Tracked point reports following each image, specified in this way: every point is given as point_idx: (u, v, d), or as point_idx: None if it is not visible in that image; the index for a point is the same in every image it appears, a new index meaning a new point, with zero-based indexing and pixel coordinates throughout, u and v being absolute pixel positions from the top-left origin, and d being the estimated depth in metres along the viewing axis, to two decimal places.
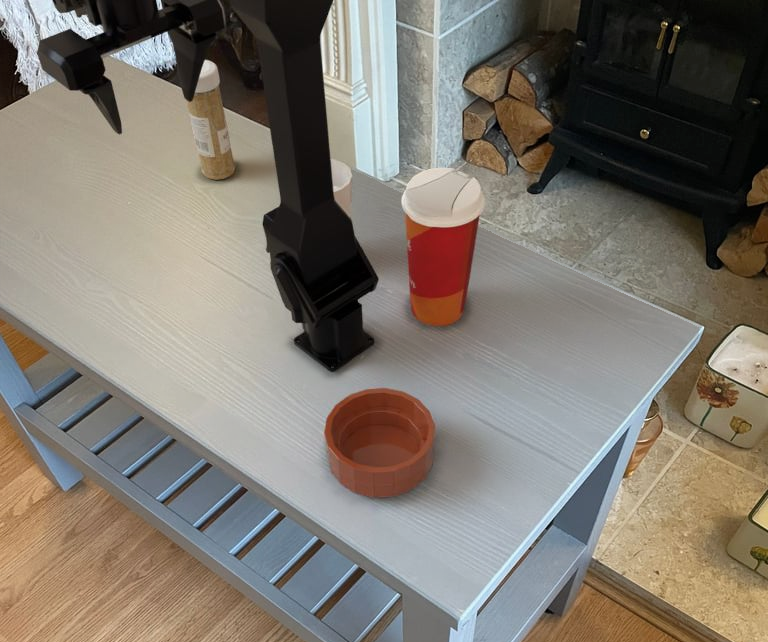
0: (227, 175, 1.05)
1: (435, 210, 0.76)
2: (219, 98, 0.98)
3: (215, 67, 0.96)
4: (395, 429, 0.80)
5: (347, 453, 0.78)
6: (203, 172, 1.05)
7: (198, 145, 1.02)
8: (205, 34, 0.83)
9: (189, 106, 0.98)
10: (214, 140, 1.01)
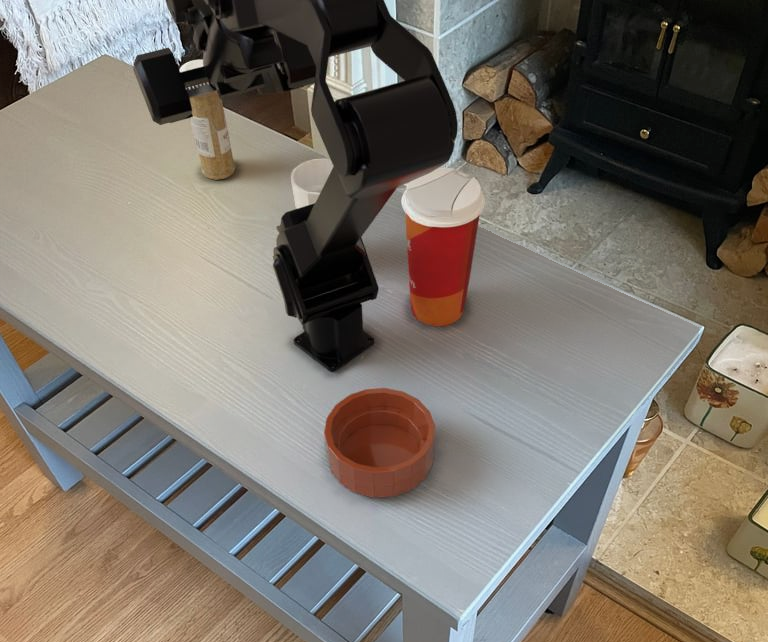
0: (227, 175, 1.05)
1: (435, 210, 0.76)
2: (219, 98, 0.98)
3: None
4: (395, 429, 0.80)
5: (347, 453, 0.78)
6: (203, 172, 1.05)
7: (198, 145, 1.02)
8: (295, 87, 0.86)
9: None
10: (214, 140, 1.01)
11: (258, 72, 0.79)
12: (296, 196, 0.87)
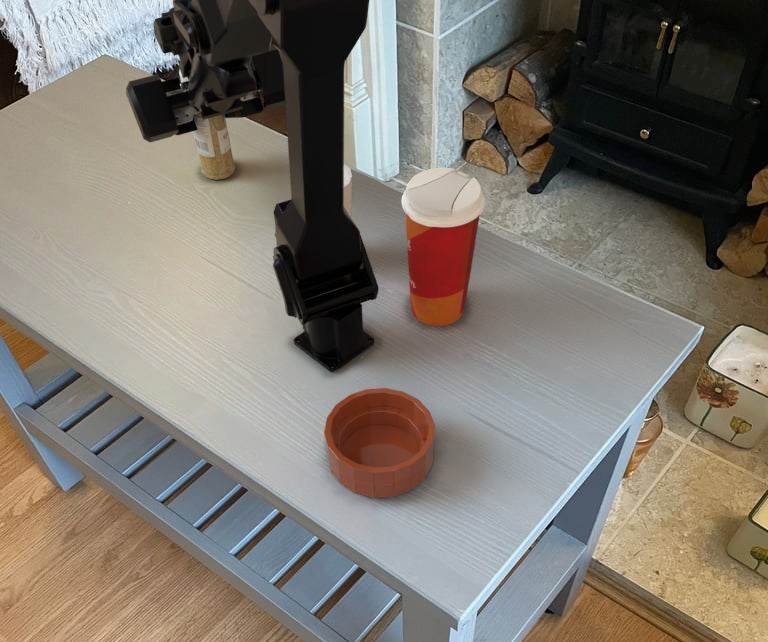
0: (227, 175, 1.05)
1: (435, 210, 0.76)
2: None
3: None
4: (395, 429, 0.80)
5: (347, 453, 0.78)
6: (203, 172, 1.05)
7: (198, 145, 1.02)
8: (270, 108, 0.97)
9: None
10: (214, 140, 1.01)
11: (236, 97, 0.89)
12: None
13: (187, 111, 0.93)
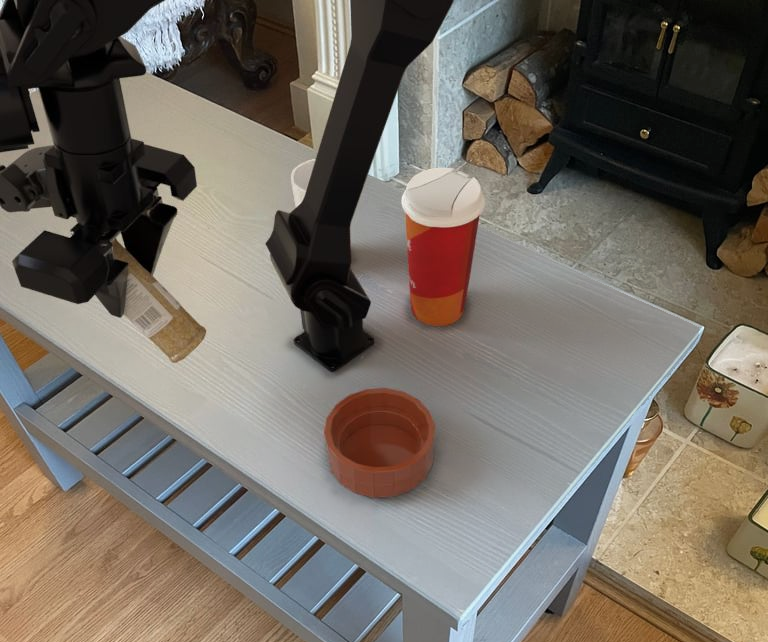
0: (202, 333, 0.74)
1: (435, 210, 0.76)
2: (125, 249, 0.71)
3: None
4: (395, 429, 0.80)
5: (347, 453, 0.78)
6: (176, 356, 0.74)
7: (146, 323, 0.72)
8: (183, 198, 0.71)
9: None
10: (157, 297, 0.71)
11: (136, 157, 0.62)
12: (296, 196, 0.87)
13: (100, 243, 0.64)
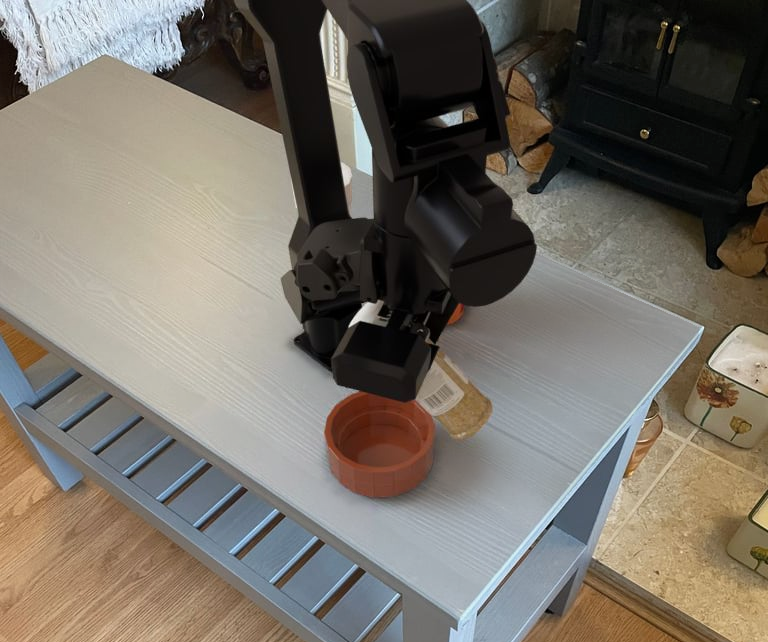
0: (490, 406, 0.67)
1: None
2: None
3: None
4: (395, 429, 0.80)
5: (347, 453, 0.78)
6: (464, 434, 0.67)
7: (437, 402, 0.65)
8: None
9: None
10: (449, 373, 0.65)
11: None
12: None
13: (415, 328, 0.57)
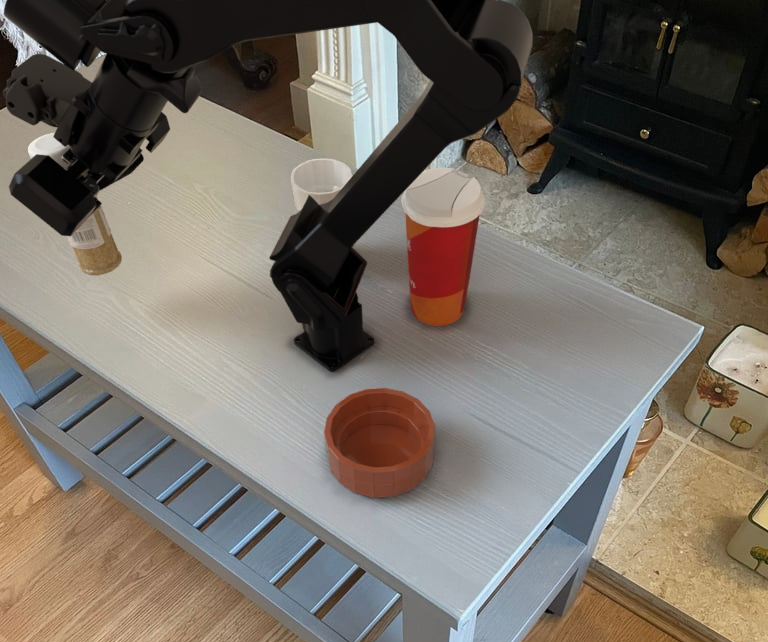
0: (120, 260, 0.85)
1: (435, 210, 0.76)
2: None
3: None
4: (395, 429, 0.80)
5: (347, 453, 0.78)
6: (91, 271, 0.84)
7: (80, 238, 0.81)
8: (152, 151, 0.81)
9: None
10: (98, 222, 0.81)
11: (150, 132, 0.73)
12: (296, 196, 0.87)
13: (89, 182, 0.73)
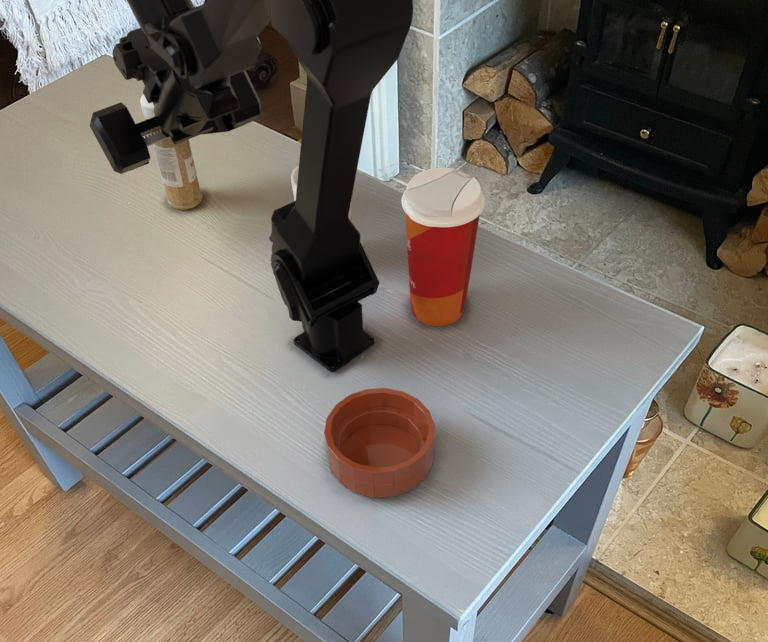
0: (196, 204, 1.02)
1: (435, 210, 0.76)
2: None
3: None
4: (395, 429, 0.80)
5: (347, 453, 0.78)
6: (170, 203, 1.01)
7: (164, 176, 0.98)
8: (238, 126, 0.94)
9: None
10: (181, 169, 0.97)
11: None
12: None
13: None
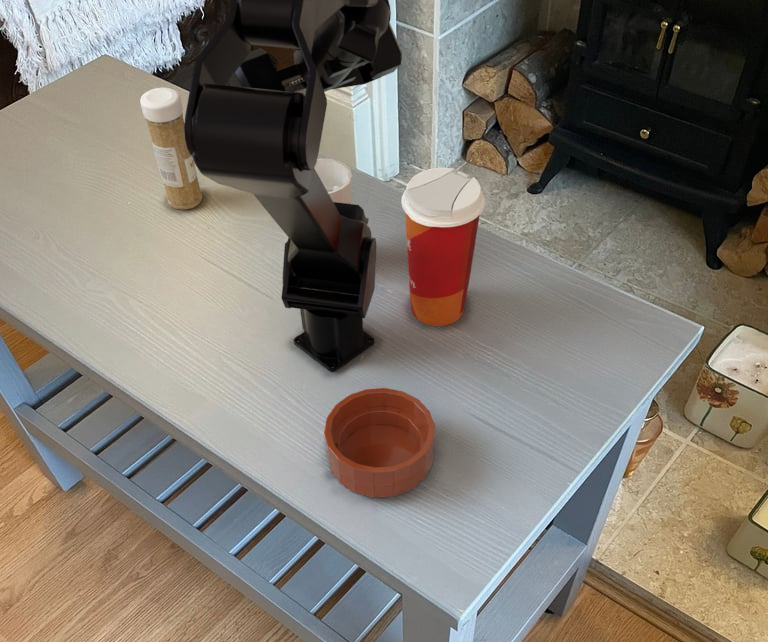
0: (196, 203, 1.02)
1: (435, 210, 0.76)
2: (183, 126, 0.95)
3: (177, 94, 0.92)
4: (395, 429, 0.80)
5: (347, 453, 0.78)
6: (170, 203, 1.01)
7: (164, 176, 0.98)
8: (376, 78, 0.87)
9: (153, 137, 0.94)
10: (181, 169, 0.97)
11: (359, 65, 0.79)
12: None
13: None
